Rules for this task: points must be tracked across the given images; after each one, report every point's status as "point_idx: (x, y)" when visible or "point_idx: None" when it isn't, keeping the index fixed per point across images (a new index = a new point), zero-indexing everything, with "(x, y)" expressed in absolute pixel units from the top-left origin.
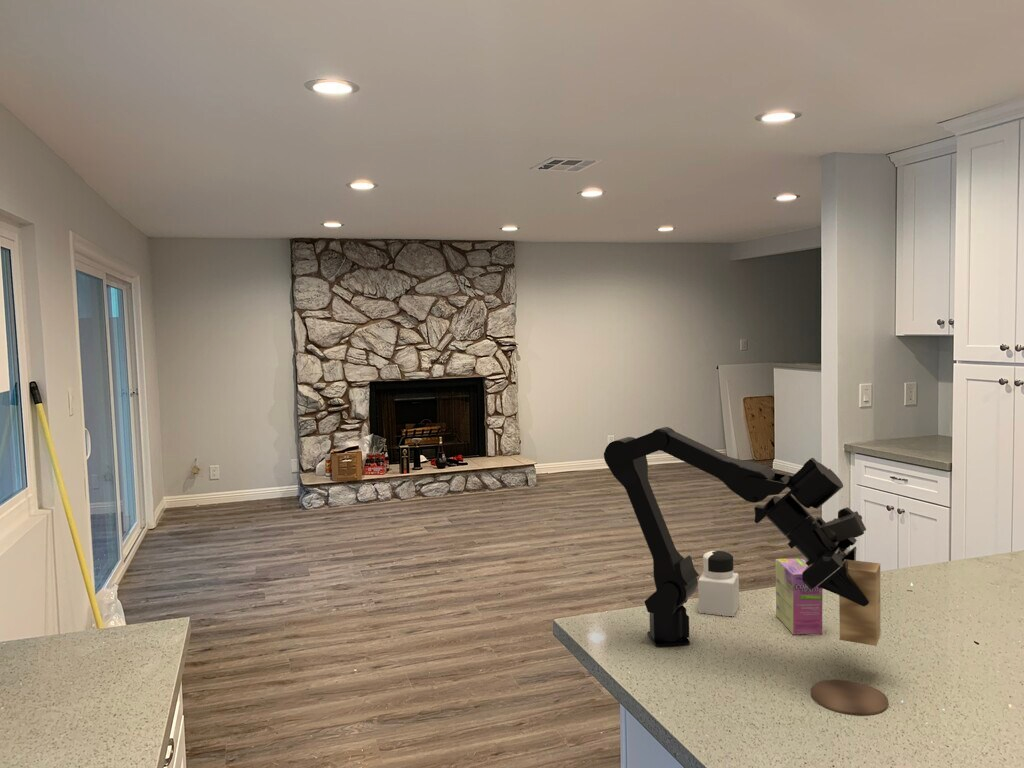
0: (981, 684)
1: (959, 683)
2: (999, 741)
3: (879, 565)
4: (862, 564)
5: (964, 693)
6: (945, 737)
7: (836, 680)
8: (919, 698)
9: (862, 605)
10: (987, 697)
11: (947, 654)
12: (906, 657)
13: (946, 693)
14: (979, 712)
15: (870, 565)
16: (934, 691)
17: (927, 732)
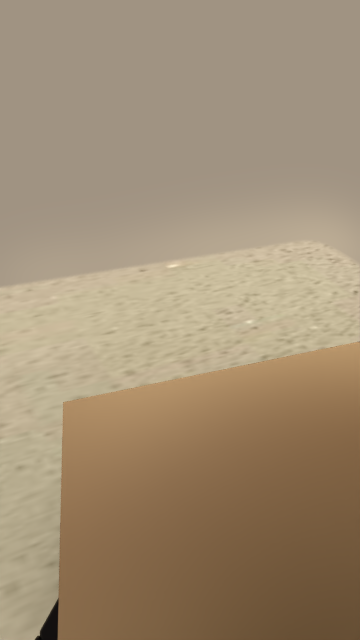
0: (120, 303)
1: (135, 326)
2: (288, 255)
3: (145, 386)
4: (252, 621)
5: (170, 313)
6: (334, 298)
7: None
8: (237, 358)
9: None
10: (164, 288)
11: (6, 372)
12: (56, 433)
13: (188, 331)
14: (223, 285)
15: (224, 475)
16: (193, 347)
17: (342, 318)
